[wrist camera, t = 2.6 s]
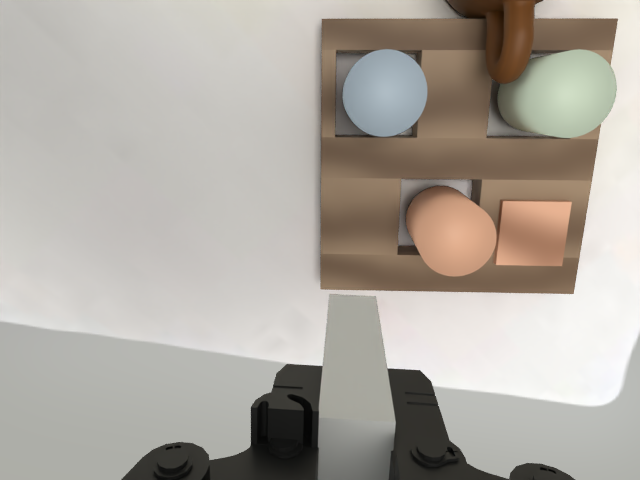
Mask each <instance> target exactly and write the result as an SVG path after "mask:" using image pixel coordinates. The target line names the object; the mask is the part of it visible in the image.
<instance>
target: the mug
mask: <svg viewBox="0 0 640 480" xmlns="http://www.w3.org/2000/svg"><path fill="white" fill-rule="evenodd" d="M447 1H448V3H449V4H450V5H451V6H452V7H453V8H454V9H455V10H456V11H457V12H459V13H460V14H462V15H464V16H466V17H468V18H470V19H487V38H486V55H485V56H486V66H487V70H488V72H489V75H490V76H491V78H492V79H493V80H494V81H496V82H498V83H501V84H507V83H511V82H513V81H515V80H516V79H518V78H519V76H520V75H521V74H522V73H523V72H524V70H525V68H526V66H527V64H528V62H529V58H530V55H531V51H532V46H533V41H534V7H535V4H537V3H539V2H541V1H543V0H447Z"/></svg>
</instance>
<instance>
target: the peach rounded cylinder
mask: <svg viewBox="0 0 640 480" xmlns="http://www.w3.org/2000/svg"><path fill="white" fill-rule="evenodd" d="M406 226H407V230H408V232H409V234H410V236H411V238H412V240H413V242H414V244H415V245H416V247H417V249H418V251H419V253H420V255H421V257H422V259H423V260H424V262H425V263H426V264H427V265H428V266H429V267H430V268H431V269H432V270H434V271H435V272H437V273H439V274H442V275H446V276H453V277H455V276H464V275H467V274H470V273H473V272H475V271H476V270H478V269H479V268H481V267H482V266H483V265H484V264H485V263H486V262H487V261H488V260H489V258H490V257H491V255H492V253H493V251H494V249H495V246H496V238H497V235H496V229H495V225H494V223H493V221H492V219H491V217H490V216H489V215H488V214H487V213H486V212H485V211H484V210H483V209H482V208H480V207H479V206H478V205H476V204H475V203H474V202H472V201H471V200H470V199H469V198H467V197H466V196H465V195H463V194H462V193H461V192H459V191H458V190H456V189H454V188H451V187H448V186H434V187H430V188H427V189H425V190H423V191H422V192H420V193H419V194H418V195H416V196H415V197H414V199H413V200H412V201H411V203H410V205H409V207H408V209H407V213H406Z"/></svg>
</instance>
